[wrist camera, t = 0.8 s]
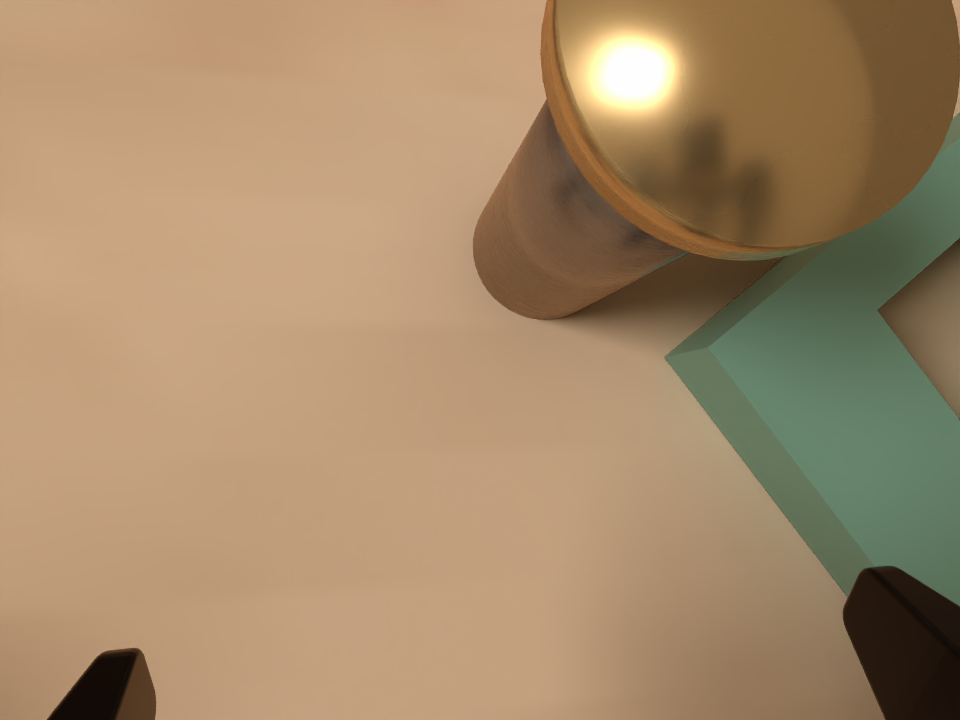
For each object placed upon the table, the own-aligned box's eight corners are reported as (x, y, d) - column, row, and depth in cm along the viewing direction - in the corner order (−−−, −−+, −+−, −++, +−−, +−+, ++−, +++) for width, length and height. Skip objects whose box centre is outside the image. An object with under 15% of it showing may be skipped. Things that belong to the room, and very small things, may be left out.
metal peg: (672, 269, 24) (1034, 88, 11) (528, 384, 23) (744, 333, 10) (557, 118, 24) (790, -245, 11) (407, 227, 23) (467, -31, 10)
